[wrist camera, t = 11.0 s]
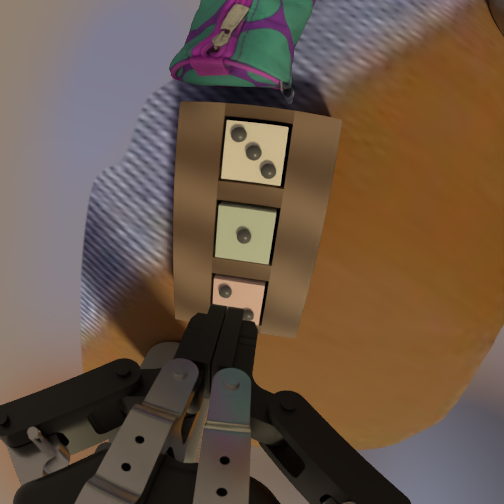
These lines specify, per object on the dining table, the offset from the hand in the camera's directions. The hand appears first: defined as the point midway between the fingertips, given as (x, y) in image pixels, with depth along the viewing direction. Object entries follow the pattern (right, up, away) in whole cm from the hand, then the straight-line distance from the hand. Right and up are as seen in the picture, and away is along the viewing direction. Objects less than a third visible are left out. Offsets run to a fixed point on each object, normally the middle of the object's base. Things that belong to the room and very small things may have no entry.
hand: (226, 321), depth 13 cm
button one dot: (+1, +5, +12) cm, 13 cm away
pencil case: (+3, +26, +5) cm, 26 cm away
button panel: (+1, +6, +14) cm, 15 cm away
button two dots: (0, 0, +15) cm, 15 cm away
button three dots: (+2, +11, +9) cm, 15 cm away
